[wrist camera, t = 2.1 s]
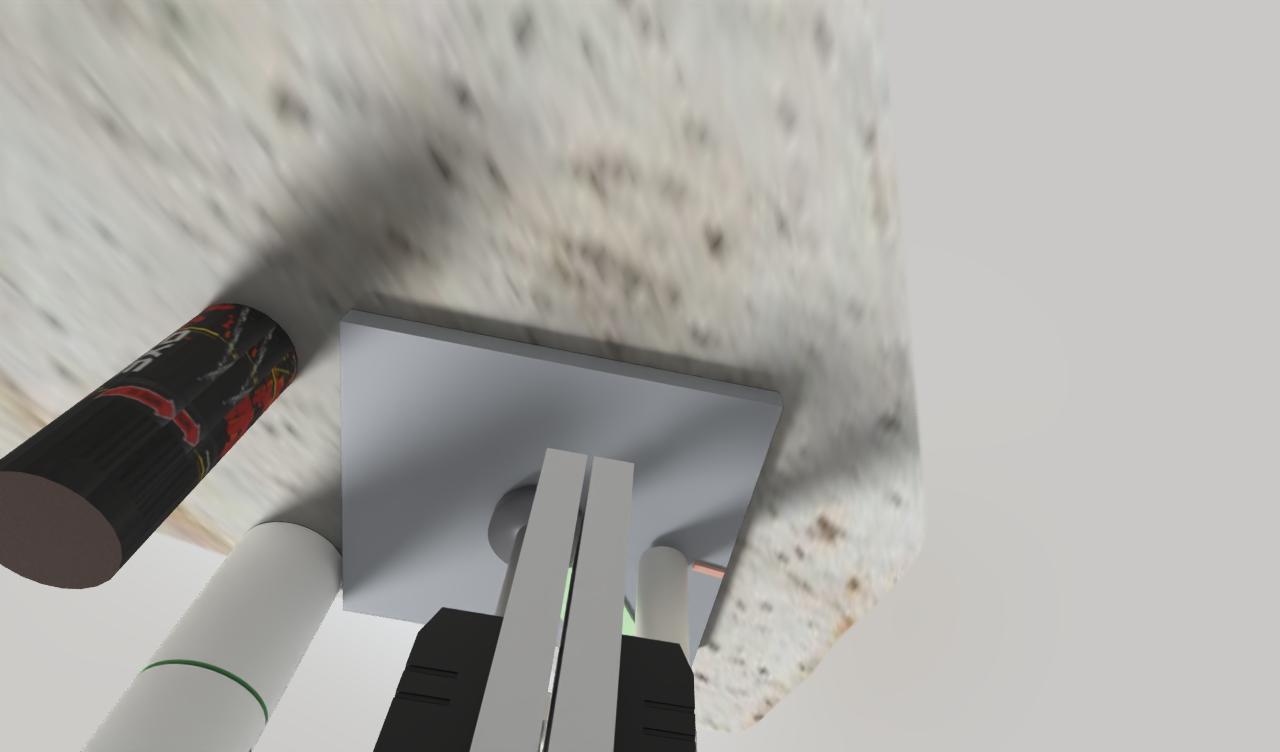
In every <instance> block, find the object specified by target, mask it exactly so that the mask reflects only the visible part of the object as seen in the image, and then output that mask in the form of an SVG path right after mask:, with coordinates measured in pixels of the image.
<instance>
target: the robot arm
mask: <svg viewBox="0 0 1280 752" xmlns="http://www.w3.org/2000/svg"><path fill="white" fill-rule="evenodd" d="M587 456H588V455H585V454H579V453H574V452H568V451H563V450H557V449H551V448H547V451H546V454H545V458H544V462H543V466H542V470H541V474H540V478H539V482H538V486H537V490H536V494H535V498H534V501H533V505H532V509H531V513H530V517H529V521H528V525H527V529H526V533H525V537H524V541H523V545H522V548H521V552H520V556H519V560H518V564H517V568H516V572H515V576H514V580H513V584H512V588H511V591H510V595H509V599H508V603H507V607H506V611H505V615H504V617H501V616H495V615H489V614H483V613H477V612H470V611H464V610H458V609H452V608H446V607H442V608H441V609H440V610H439V611H438V612H437V613H436V614H435V615H434V616H433V617H432V618H431V619H430V620H429V621H428V623H427V624H426V625H425V626H424V627H423V628H422V629H421V630H420V631H419V632H418V635H417V637H416V640H415V643H414V645H413V648H412V650H411V653H410V656H409V658H408V661H407V663H406V668H405V671H404V672H403V674H402V677H401V679H400V682H399V685H398V687H397V690H396V695H395V697H394V698H393V700H392V703H391V706H390V708H389V711H388V714H387V716H386V719H385V722H384V724H383V727H382V730H381V732H380V735H379V738H378V741H377V743H376V745H375V748H374V751H373V752H538V746H539V740H540V734H541V728H542V722H543V716H544V710H545V704H546V698H547V692H548V686H549V681H550V675H551V669H552V663H553V657H554V651H555V645H556V639H557V633H558V627H559V621H560V615H561V610H562V604H563V598H564V592H565V586H566V580H567V574H568V568H569V562H570V556H571V550H572V544H573V539H574V533H575V527H576V521H577V515H578V509H579V503H580V497H581V491H582V485H583V479H584V474H585V468H586V462H587ZM633 473H634V463H630V462H624V461H619V460H613V459H608V458H602V457H596V456H594V459H593V464H592V469H591V474H590V479H589V484H588V489H587V494H586V499H585V505H584V510H583V515H582V520H581V525H580V530H579V535H578V540H577V545H576V550H575V555H574V560H573V565H572V572H571V578H570V584H569V590H568V596H567V602H566V608H565V614H564V621H563V627H562V633H561V639H560V645H559V651H558V657H557V663H556V670H555V676H554V682H553V688H552V694H551V700H550V706H549V712H548V719H547V725H546V731H545V737H544V743H543V749H542V752H696V742H695V736H696V729H695V714H694V709H695V699H694V674H693V672H692V670H691V667H690V665H689V663H688V661H687V659H686V657H685V654H684V652H683V650H682V648H681V646H680V644H679V643H672V642H666V641H660V640H654V639H648V638H642V637H636V636H629V635H623V634H622V625H623V611H624V597H625V583H626V570H627V556H628V542H629V528H630V514H631V501H632V487H633Z"/></svg>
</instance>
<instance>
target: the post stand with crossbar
mask: <svg viewBox="0 0 1280 752" xmlns="http://www.w3.org/2000/svg"><path fill="white" fill-rule="evenodd" d="M536 490H537V486H526V487H521V488H518V489H515V490H512V491H510V492H509V493H507V494H505V495H504V496H503V497H502V498H501V499H500V500H499V501H498V503H497V504H496V506H495V509H494V511H493V514H492V517H491V520H490V523H489V527H488V540H489V544H490V546H491V548H492V550H493V551H494V553H495V554H496V555H497V556H498V557H499V558H500V559H501V560H502V561H503V562H505V563H506V564H508V567H507V571H506V575H505V578H504V582H503V585H502V589H501V593H500V596H499V600H498V603H497V607H496V611H495V614H494V615H495V616H501V617H504V615H505V611H506V607H507V603H508V599H509V595H510V591H511V588H512V584H513V580H514V576H515V572H516V568H517V564H518V560H519V556H520V552H521V548H522V545H523V541H524V537H525V533H526V529H527V525H528V521H529V517H530V513H531V509H532V505H533V501H534V498H535V494H536ZM582 515H583V514H582V512H581V510H580V508H579V509H578V515H577V521H576V527H575V533H574V539H573V544H572V550H571V556H570V562H569V565H570V564H571V563H573V560H574V555H575V550H576V545H577V540H578V535H579V530H580V525H581V520H582ZM634 636H636V637H642V638H648V639H654V640H660V641H666V642H672V643H679V644H680V646H681V648H682V650H683V652H684V654H685V657H686V659H687V661H688V663H689V615H688V567H687V560H686V558H685V556H684V555H683V554H682V553H681V552H680V551H678V550H676V549H674V548H671V547H666V546H658V547H654V548H651V549H649V550H647V551H645V552H644V553H643V554H642V555H641V557H640V559H639V564H638V580H637V597H636V613H635V629H634ZM689 665H690V664H689ZM551 694H552V693H549V692H547V698H546V704H545V710H544V716H543V722H542V728H541V734H540V740H539V746H538V752H540V748H543V743H544V737H545V731H546V725H547V719H548V712H549V706H550V700H551ZM695 742H696V752H697V732H696V736H695Z"/></svg>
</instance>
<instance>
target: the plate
mask: <svg viewBox="0 0 1280 752" xmlns="http://www.w3.org/2000/svg"><path fill="white" fill-rule="evenodd" d="M340 387H341V472H342V557H343V610H344V611H350V612H356V613H362V614H368V615H373V616H379V617H385V618H391V619H397V620H403V621H409V622H415V623H421V624H427V623H428V621H429V620H430V619H431V618H432V617H433V616H434V615H435V614H436V613H437V612H438V611H439V610H440V609H441V608H442V607H446V608H452V609H458V610H464V611H470V612H477V613H483V614H489V615H494V614H495V611H496V607H497V603H498V600H499V596H500V593H501V589H502V585H503V582H504V578H505V575H506V571H507V567H508V564H506V563H505V562H503V561H502V560H501V559H500V558H499V557H498V556H497V555H496V554H495V553H494V551H493V550H492V548H491V546H490V544H489V540H488V527H489V523H490V520H491V517H492V514H493V511H494V509H495V506H496V504H497V503H498V501H499V500H500V499H501V498H502V497H503V496H504V495H505V494H507V493H509V492H510V491H512V490H515V489H518V488H521V487H526V486H538V482H539V478H540V474H541V470H542V466H543V462H544V458H545V454H546V451H547V448H551V449H557V450H563V451H568V452H574V453H579V454H585V455H588V456H587V462H586V468H585V474H584V479H583V485H582V491H581V497H580V503H579V508H580V510H581V512H582V514H583V510H584V505H585V499H586V494H587V489H588V484H589V479H590V474H591V469H592V464H593V459H594V456H596V457H602V458H608V459H613V460H619V461H624V462H630V463H634V473H633V487H632V501H631V514H630V528H629V542H628V556H627V570H626V583H625V597H624V611H623V625H622V634H623V635H629V636H634V629H635V613H636V597H637V580H638V564H639V559H640V557H641V555H642V554H643V553H644V552H645V551H647V550H649V549H651V548H654V547H658V546H666V547H671V548H674V549H676V550H678V551H680V552H681V553H682V554H683V555H684V556H685V558H686V560H687V567H688V615H689V664H690V667H692V664H693V661H694V658H695V656H696V653H697V650H698V647H699V644H700V641H701V639H702V636H703V633H704V630H705V627H706V624H707V622H708V619H709V616H710V613H711V610H712V607H713V605H714V602H715V599H716V596H717V593H718V590H719V587H720V585H721V582H722V579H723V576H724V574H725V570H726V568H727V565H728V562H729V559H730V556H731V553H732V551H733V548H734V545H735V542H736V539H737V536H738V534H739V531H740V528H741V525H742V522H743V519H744V517H745V514H746V511H747V508H748V505H749V502H750V500H751V497H752V494H753V491H754V488H755V485H756V483H757V480H758V477H759V474H760V471H761V468H762V466H763V463H764V460H765V457H766V454H767V451H768V449H769V446H770V443H771V440H772V437H773V434H774V432H775V429H776V426H777V423H778V420H779V417H780V415H781V412H782V409H783V404H782V400H781V395H780V392H774V391H769V390H764V389H759V388H754V387H749V386H743V385H738V384H733V383H728V382H723V381H718V380H713V379H707V378H702V377H697V376H692V375H687V374H682V373H677V372H671V371H666V370H661V369H656V368H651V367H646V366H640V365H635V364H630V363H625V362H620V361H615V360H610V359H604V358H599V357H594V356H589V355H584V354H579V353H574V352H568V351H563V350H558V349H553V348H548V347H543V346H538V345H532V344H527V343H522V342H517V341H512V340H507V339H501V338H496V337H491V336H486V335H481V334H476V333H471V332H465V331H460V330H455V329H450V328H445V327H440V326H435V325H429V324H424V323H419V322H414V321H409V320H404V319H399V318H393V317H388V316H383V315H378V314H373V313H368V312H362V311H357V310H352V309H351V310H350V311H349V312H348V313H347V314H346V315H345V316H344V317H343V318H342V319H341V320H340ZM572 565H573V563H571V564H570V565H569V568H568V574H567V580H566V586H565V592H564V598H563V604H562V610H561V615H560V621H559V627H558V633H557V639H556V645H555V646H557V647H559V645H560V639H561V633H562V627H563V621H564V614H565V608H566V602H567V596H568V590H569V584H570V578H571V572H572Z"/></svg>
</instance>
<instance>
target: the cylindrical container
mask: <svg viewBox="0 0 1280 752" xmlns="http://www.w3.org/2000/svg"><path fill="white" fill-rule="evenodd" d="M342 584H343V559H342V557H341V555H340V554H339V552H338V551H337V550H336V548H335V547H334V546H333V545H332V544H331V543H330V542H329V541H328V540H327V539H325V538H324V537H323V536H321V535H319V534H318V533H316V532H314V531H312V530H310V529H308V528H306V527H303V526H300V525H297V524H292V523H287V522H270V523H263V524H260V525H257V526H255V527H253V528H252V529H250V530H248V531H247V532H246V533H245V534H244V535H243V537H242V538H241V539H240V541H239V542H238V543H237V545H236V546H235V547H234V549H233V550H232V551H231V553H230V554H229V555H228V556H227V558H226V559H225V560H224V562H223V563H222V564H221V566H220V567H219V568H218V570H217V571H216V572H215V574H214V575H213V576H212V578H211V579H210V580H209V582H208V583H207V584H206V586H205V587H204V588H203V590H202V591H201V592H200V593H199V595H198V596H197V598H196V599H195V600H194V601H193V603H192V604H191V606H190V607H189V608H188V609H187V611H186V612H185V613H184V615H183V616H182V617H181V619H180V620H179V621H178V623H177V624H176V625H175V627H174V628H173V629H172V630H171V632H170V633H169V635H168V636H167V637H166V638H165V640H164V641H163V642H162V644H161V645H160V646H159V648H158V649H157V650H156V652H155V653H154V654H153V656H152V657H151V658H150V660H149V661H148V662H147V663H146V665H145V666H144V667H143V669H142V670H141V671H140V673H139V674H138V676H137V677H136V678H135V680H134V681H133V682H132V683H131V685H130V686H129V687H128V689H127V690H126V691H125V693H124V694H123V695H122V697H121V698H120V699H119V701H118V702H117V703H116V705H115V706H114V707H113V709H112V710H111V711H110V712H109V714H108V715H107V717H106V718H105V719H104V720H103V722H102V723H101V725H100V726H99V727H98V728H97V730H96V731H95V732H94V734H93V735H92V736H91V738H90V739H89V740H88V741H87V743H86V744H85V746H84V747H83V748H82V749H81V751H80V752H252V751H253V749H254V747H255V745H256V743H257V742H258V740H259V738H260V736H261V734H262V732H263V730H264V728H265V727H266V725H267V723H268V721H269V719H270V717H271V715H272V714H273V712H274V710H275V708H276V706H277V704H278V702H279V701H280V699H281V697H282V695H283V693H284V691H285V690H286V688H287V686H288V684H289V682H290V680H291V678H292V677H293V675H294V673H295V671H296V669H297V667H298V665H299V664H300V662H301V660H302V658H303V656H304V654H305V652H306V651H307V648H308V647H309V645H310V643H311V641H312V639H313V637H314V636H315V634H316V632H317V630H318V628H319V626H320V624H321V623H322V621H323V619H324V617H325V615H326V613H327V612H328V610H329V608H330V606H331V604H332V602H333V600H334V599H335V597H336V595H337V593H338V591H339V589H340V587H341V586H342Z"/></svg>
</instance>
